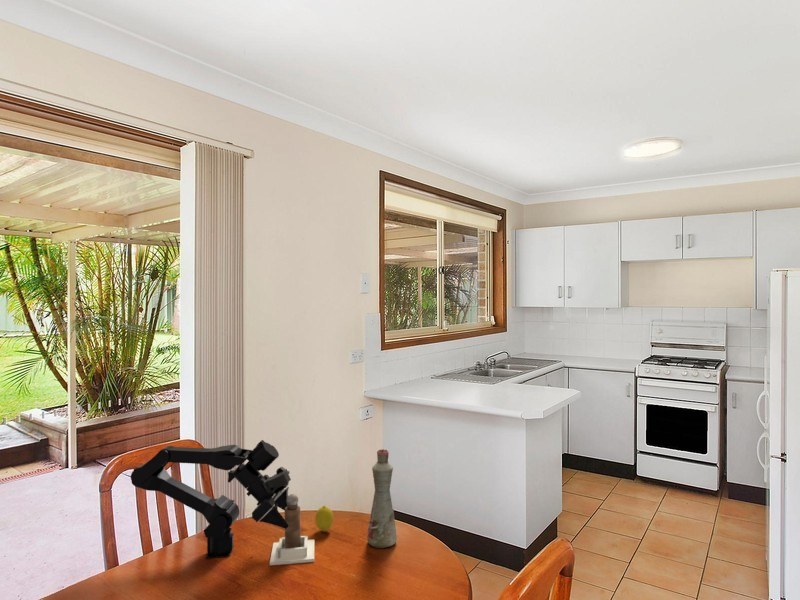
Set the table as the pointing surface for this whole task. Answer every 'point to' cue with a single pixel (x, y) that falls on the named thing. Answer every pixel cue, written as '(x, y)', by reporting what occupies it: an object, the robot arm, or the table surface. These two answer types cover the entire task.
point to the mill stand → (292, 552)
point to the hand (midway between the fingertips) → (291, 520)
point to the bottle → (382, 505)
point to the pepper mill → (292, 522)
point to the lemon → (324, 518)
